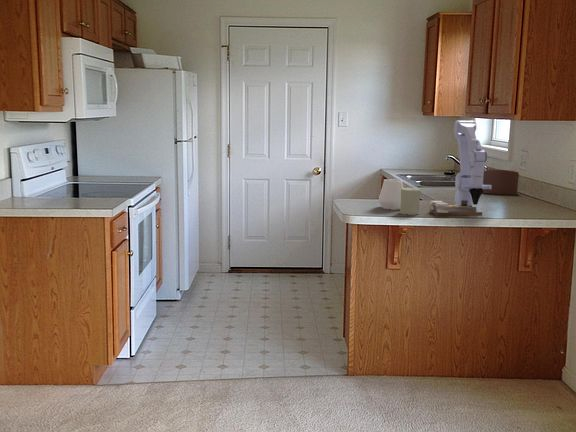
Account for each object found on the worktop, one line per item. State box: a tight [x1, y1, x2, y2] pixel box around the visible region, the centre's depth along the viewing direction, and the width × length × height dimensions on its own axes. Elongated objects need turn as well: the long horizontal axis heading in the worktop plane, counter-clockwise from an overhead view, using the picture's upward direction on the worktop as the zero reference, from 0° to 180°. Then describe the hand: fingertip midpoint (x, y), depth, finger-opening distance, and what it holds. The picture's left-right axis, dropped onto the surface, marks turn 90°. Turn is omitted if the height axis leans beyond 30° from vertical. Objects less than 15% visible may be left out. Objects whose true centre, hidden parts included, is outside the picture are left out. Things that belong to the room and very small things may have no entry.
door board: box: [429, 200, 483, 217], centre depth 307 cm, size 10×22×6 cm, turn 100°
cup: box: [378, 178, 404, 211], centre depth 318 cm, size 13×13×14 cm
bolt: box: [449, 200, 468, 207], centre depth 307 cm, size 3×10×4 cm, turn 100°
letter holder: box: [482, 169, 520, 196], centre depth 377 cm, size 10×20×14 cm, turn 81°
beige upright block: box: [399, 187, 421, 216], centre depth 305 cm, size 9×9×12 cm
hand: (475, 204), depth 308 cm, fingers closed
